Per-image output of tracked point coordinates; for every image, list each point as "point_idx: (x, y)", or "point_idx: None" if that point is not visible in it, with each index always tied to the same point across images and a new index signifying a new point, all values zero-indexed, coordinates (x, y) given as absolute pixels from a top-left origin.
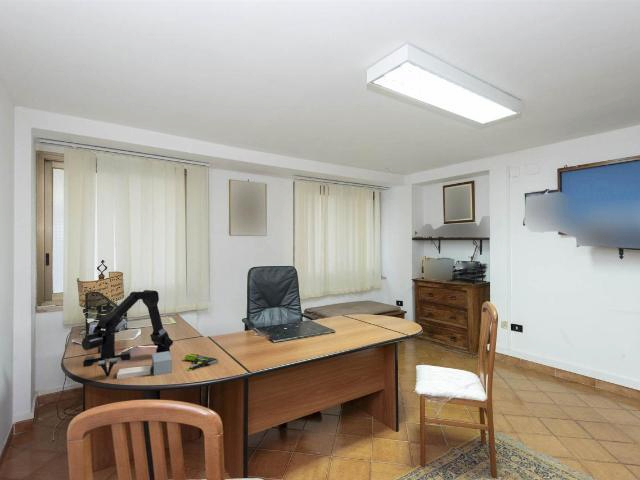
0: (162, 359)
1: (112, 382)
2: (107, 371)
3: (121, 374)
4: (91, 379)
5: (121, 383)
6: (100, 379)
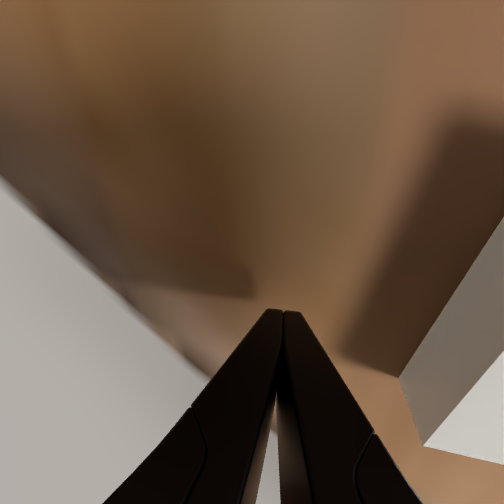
0: None
1: None
2: (271, 405)
3: (489, 450)
4: (38, 198)
5: None
6: (181, 278)
